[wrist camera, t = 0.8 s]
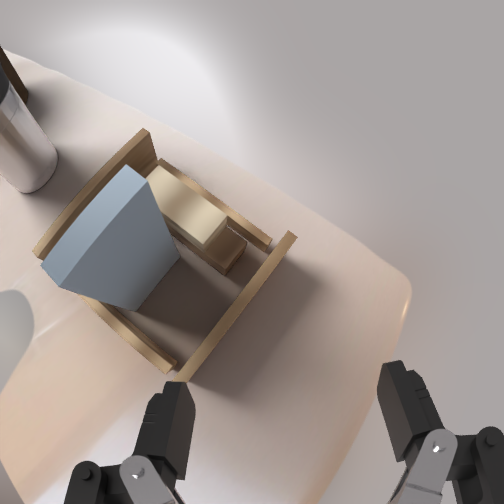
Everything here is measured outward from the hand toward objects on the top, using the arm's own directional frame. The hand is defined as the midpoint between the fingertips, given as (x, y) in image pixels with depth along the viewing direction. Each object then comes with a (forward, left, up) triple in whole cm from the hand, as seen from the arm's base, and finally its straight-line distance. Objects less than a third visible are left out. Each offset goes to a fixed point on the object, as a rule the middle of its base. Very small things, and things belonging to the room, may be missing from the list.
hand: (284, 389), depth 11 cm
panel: (-14, 0, -25) cm, 29 cm away
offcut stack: (-14, +8, -25) cm, 30 cm away
